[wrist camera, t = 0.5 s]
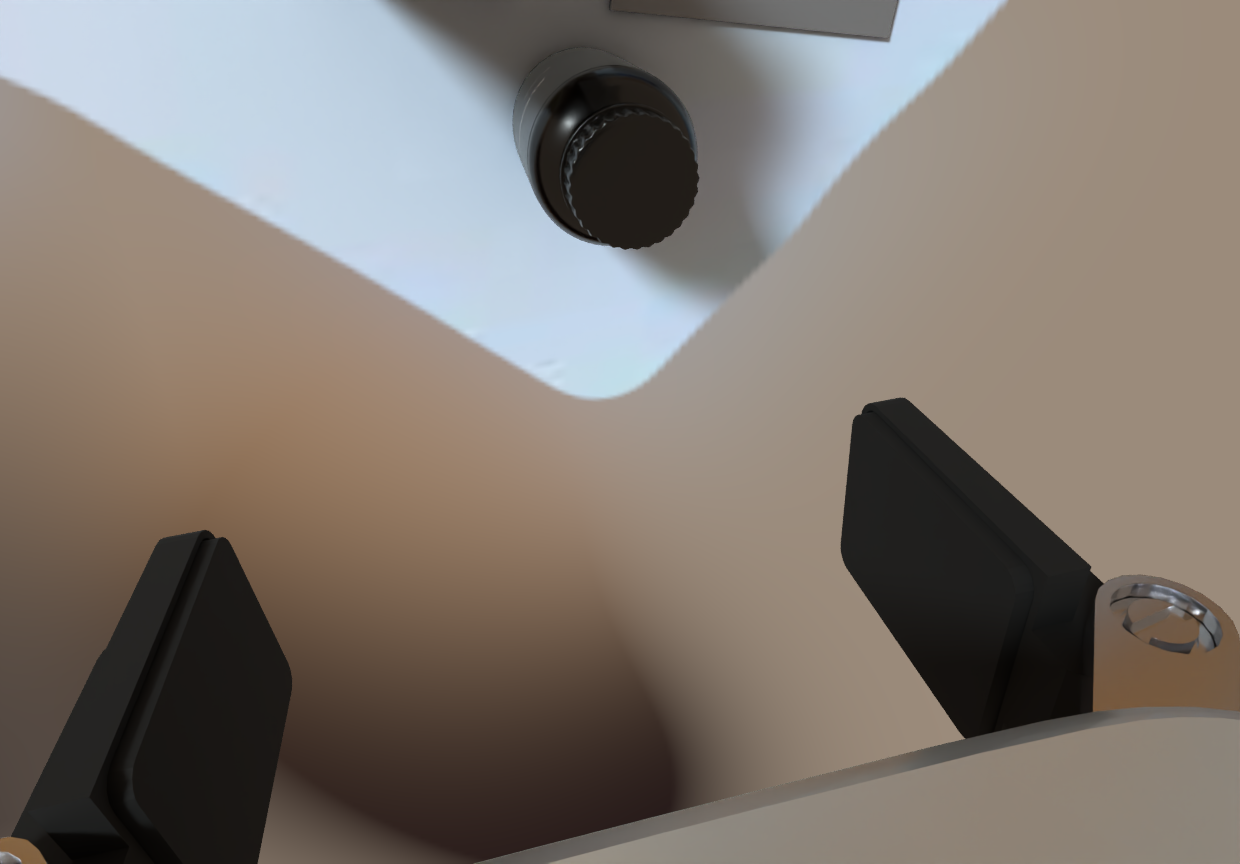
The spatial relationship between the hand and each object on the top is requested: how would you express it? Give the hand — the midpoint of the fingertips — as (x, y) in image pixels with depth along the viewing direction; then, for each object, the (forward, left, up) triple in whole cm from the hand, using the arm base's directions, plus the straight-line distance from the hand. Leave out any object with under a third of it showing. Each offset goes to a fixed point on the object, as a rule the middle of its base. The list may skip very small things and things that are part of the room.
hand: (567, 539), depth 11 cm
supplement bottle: (-2, +5, -30) cm, 30 cm away
